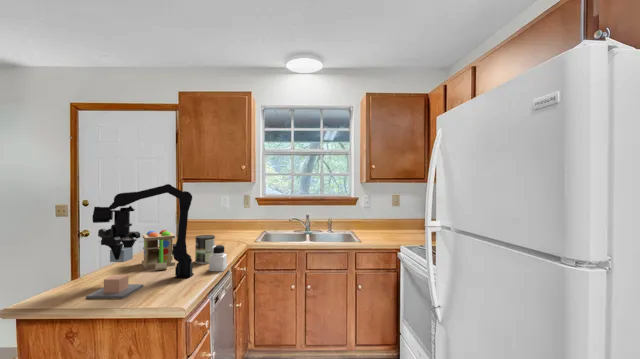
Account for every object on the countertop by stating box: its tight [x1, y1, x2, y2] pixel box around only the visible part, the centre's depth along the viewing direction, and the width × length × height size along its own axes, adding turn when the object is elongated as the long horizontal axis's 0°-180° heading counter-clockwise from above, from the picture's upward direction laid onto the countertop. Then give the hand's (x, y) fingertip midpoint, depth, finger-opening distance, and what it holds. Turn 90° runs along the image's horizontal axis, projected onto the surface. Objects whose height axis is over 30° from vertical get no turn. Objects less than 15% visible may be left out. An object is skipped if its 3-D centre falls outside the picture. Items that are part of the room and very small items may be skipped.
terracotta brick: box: [103, 274, 130, 292], centre depth 127 cm, size 6×6×5 cm
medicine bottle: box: [208, 244, 228, 272], centre depth 161 cm, size 7×7×12 cm
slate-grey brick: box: [109, 246, 134, 263], centre depth 138 cm, size 6×6×5 cm
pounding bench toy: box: [141, 229, 176, 271], centre depth 168 cm, size 23×14×18 cm, turn 35°
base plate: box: [85, 283, 145, 300], centre depth 127 cm, size 14×14×1 cm
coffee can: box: [194, 234, 216, 265], centre depth 177 cm, size 10×10×14 cm
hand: (121, 257), depth 138 cm, fingers closed on slate-grey brick, 6 cm apart
